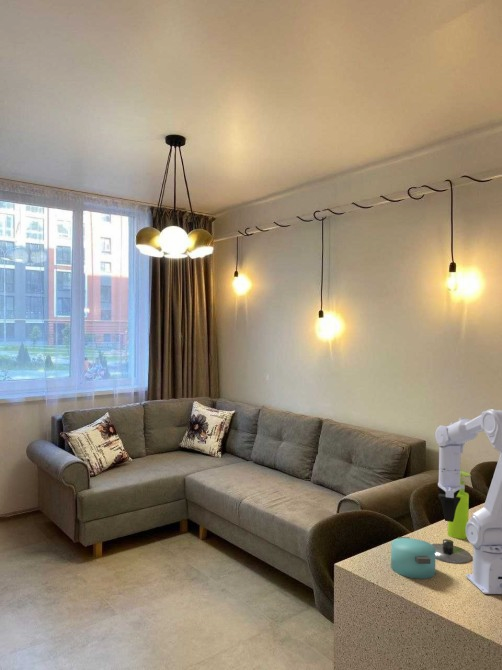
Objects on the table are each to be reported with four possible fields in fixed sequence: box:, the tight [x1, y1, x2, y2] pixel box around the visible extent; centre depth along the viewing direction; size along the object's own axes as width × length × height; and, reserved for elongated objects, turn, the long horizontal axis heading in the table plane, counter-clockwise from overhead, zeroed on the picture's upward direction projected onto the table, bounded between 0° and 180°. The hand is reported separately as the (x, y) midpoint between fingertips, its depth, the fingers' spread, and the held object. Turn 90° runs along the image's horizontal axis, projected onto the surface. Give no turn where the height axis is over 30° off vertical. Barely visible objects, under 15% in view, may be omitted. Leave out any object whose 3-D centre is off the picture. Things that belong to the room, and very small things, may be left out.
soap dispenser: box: [447, 470, 472, 540], centre depth 156 cm, size 6×7×20 cm
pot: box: [390, 536, 436, 580], centre depth 131 cm, size 14×11×6 cm
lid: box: [431, 539, 472, 564], centre depth 142 cm, size 12×12×4 cm
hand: (448, 517), depth 142 cm, fingers open, 7 cm apart
